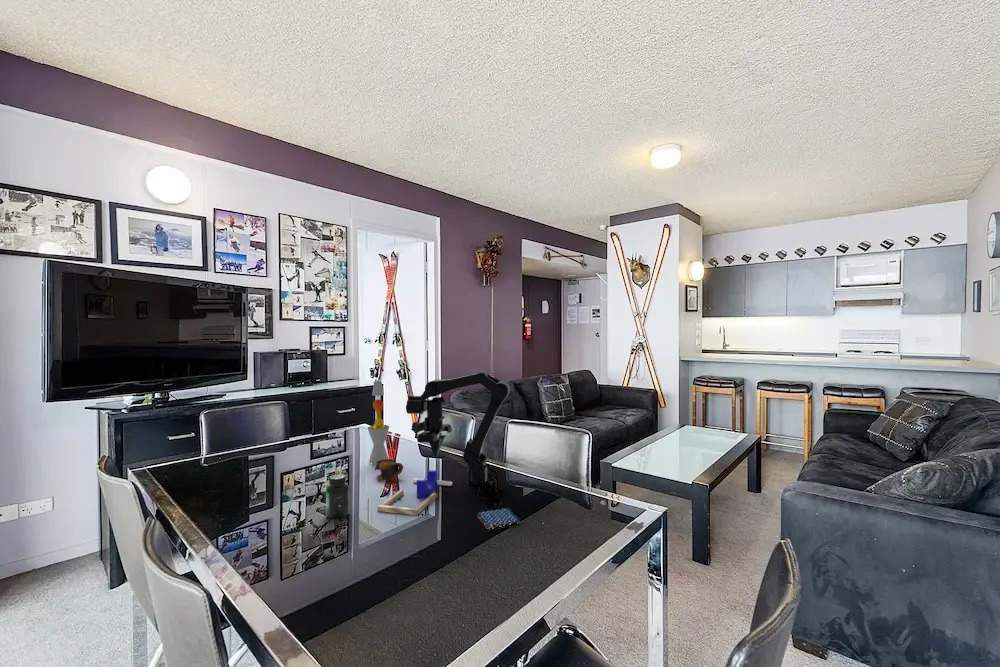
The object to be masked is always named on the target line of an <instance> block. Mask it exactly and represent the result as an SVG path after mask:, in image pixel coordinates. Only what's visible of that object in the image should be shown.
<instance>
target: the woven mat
mask: <svg viewBox="0 0 1000 667" xmlns="http://www.w3.org/2000/svg"><path fill="white" fill-rule="evenodd" d="M476 517H477V520H479V522H480V523H482V524H484V525H483V527H485V529H486V530H487V529H489V530H490V529H491V528H492V529H491V530H494V529H495V528H496V527H497V528H498V526H499V527H501V528H502V526H504V527H506V526H505V525H507V526H508V525H511V524H514V523H517V524H518V523H519V524H520V523H521V520H520V518H519V517H518V516H517V515H516V514H515V513H513V511H512V510H511V509H510V508H509V507H507V508H501V509H499V508H498V509H496V510H495V509H493V510H487V511H482V512H481V511H479V512H478V513H477V515H476ZM514 525H515V524H514ZM493 526H494V527H493Z"/></svg>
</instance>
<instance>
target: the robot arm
mask: <svg viewBox="0 0 1000 667" xmlns="http://www.w3.org/2000/svg"><path fill="white" fill-rule="evenodd" d="M478 384H480V385H482V386H483V387H484V388H485V389H487V391H489V392H491V394H490V399H489V404H488V406H487V409H486V411H485V413H484V416H483V418H482V420H481V422H480V425H479V427H478V429H477V432H476V434H475V436H474V437H473V439H472V437H470V438H469V439H468V441H467V442H466V444H465V448H464V449H463V450H462V453H463V454H462V459H463V461H464V462H465V463H466V464H467V467H468V469H467V472H466V474H467V477H466V478H467V479H466V480H467V481H466V482H467V483H466V485H467V486H473V485H483V484H485V483H486V481H487V479H488V465H486V464H487V462H488V457H487V456H486V455H485V454H484V453H483V450H484V446H485V445H484V444H485V440H486V438H487V435H488V433H489V431H490V429H491V427H492V424H493V422H494V420H495V418H496V415H497V413H498V411H499V409H500V407H501V405H502V404H503V402H505V400H506V398H507V397H508V396H509V394H510V392H511V386H510V384H509V383H508V382H507V381H505V380H499V379H498V378H496V377H494V376H493V375H490V374H488V373H487V372H486V371H479V372H476V373H473V374H469V375H468V374H467V375H465V376H460V377H455V378H449V379H446V378H445V379H443V378H441V379H437V378H436V379H433V380H431V381H428V382H427V383H426V385H425V386H424V390H423V392H422V394H421V395H408V396H407V401H406V405H405V410H406V411H405V412H406V413H407V415H410V414H412V415H414V414H415V415H423V414H424V412H426V417H424V420H423V421H420V422H419V421H415V422H413V423H411V429H410V430H411V431H412V432H413V433H414V434H415V435H416V434H418V433H419V434H418V435H416V436H417V439H416V440H417V442H418V443H429V446H430V448H431V451H432V454H433V456H434V457H437V456H438V454H439V453H440V451H441V447H442V445H443V443H444V441H445V438H446V437H447V435H446V434H444V435H443V432H447V433H451V432H452V428H453V427H452V425H450V423H444V419H445V418H446V416H445V415H443V412H444V411H443V403H447V402H448V401H449V399H448V398H447V397H446V396H445V395H444V394H445V393H447V392H448V391H451V390H456V389H460V388H463V387H464V388H465V387H469V386H473V385H478ZM441 394H443V395H441ZM440 395H441V396H440ZM438 396H439V397H438ZM429 398H431V399H429Z"/></svg>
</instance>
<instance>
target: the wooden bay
mask: <svg viewBox="0 0 1000 667" xmlns="http://www.w3.org/2000/svg"><path fill="white" fill-rule="evenodd" d="M404 494H405V493H404V489H400V490H398V491H396V492H395V493H394V494H393V495H391V496H389V497H388V498H386V500H383V502H381V503H380V504H379V505H377V512H382V513H385V512H386V513H391V514H402V515H411V516H418V514H419V513H421V512H422V511H423V510H424V509H426V507H428V506H429V505H430V504H431V503H432V502H433V501H434V500H435V499H436V498H437V492H431V493H430V494H429V495H428V497H427V498H426V499H424V500H423V501H421V502H420V503H419V504H418V505H417V506H415V508H414V507H413V508H412V507H405V506H395V505H394V506H393V505H392V504H393V503H394V502H396V501H397V500H398V499H399V498H401V497H402V496H404Z"/></svg>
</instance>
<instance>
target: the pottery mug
mask: <svg viewBox="0 0 1000 667" xmlns="http://www.w3.org/2000/svg"><path fill="white" fill-rule="evenodd" d="M403 469H404V465H403V464H402V463H401V462H397V460H396V459H393V458H389V459H384V460H379V461H377V465H375V466H374V470H375V471H376V470H378V471H379V470H380V473H381V474H378V475H376V478H377V481H378V482H382V481H393V480H394V477H395V478H397V477H399V475H400V474H401V473H402V472H403Z"/></svg>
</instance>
